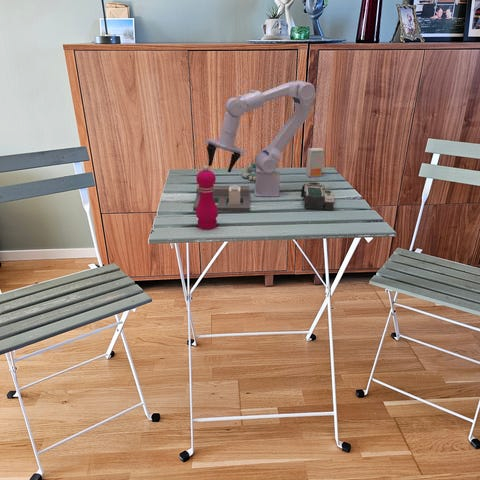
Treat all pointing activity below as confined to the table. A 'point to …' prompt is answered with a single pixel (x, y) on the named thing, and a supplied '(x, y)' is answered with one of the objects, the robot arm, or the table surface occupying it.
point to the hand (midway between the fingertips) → (219, 168)
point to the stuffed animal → (250, 172)
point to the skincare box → (314, 162)
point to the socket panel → (223, 197)
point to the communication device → (317, 196)
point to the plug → (234, 195)
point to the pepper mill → (206, 200)
